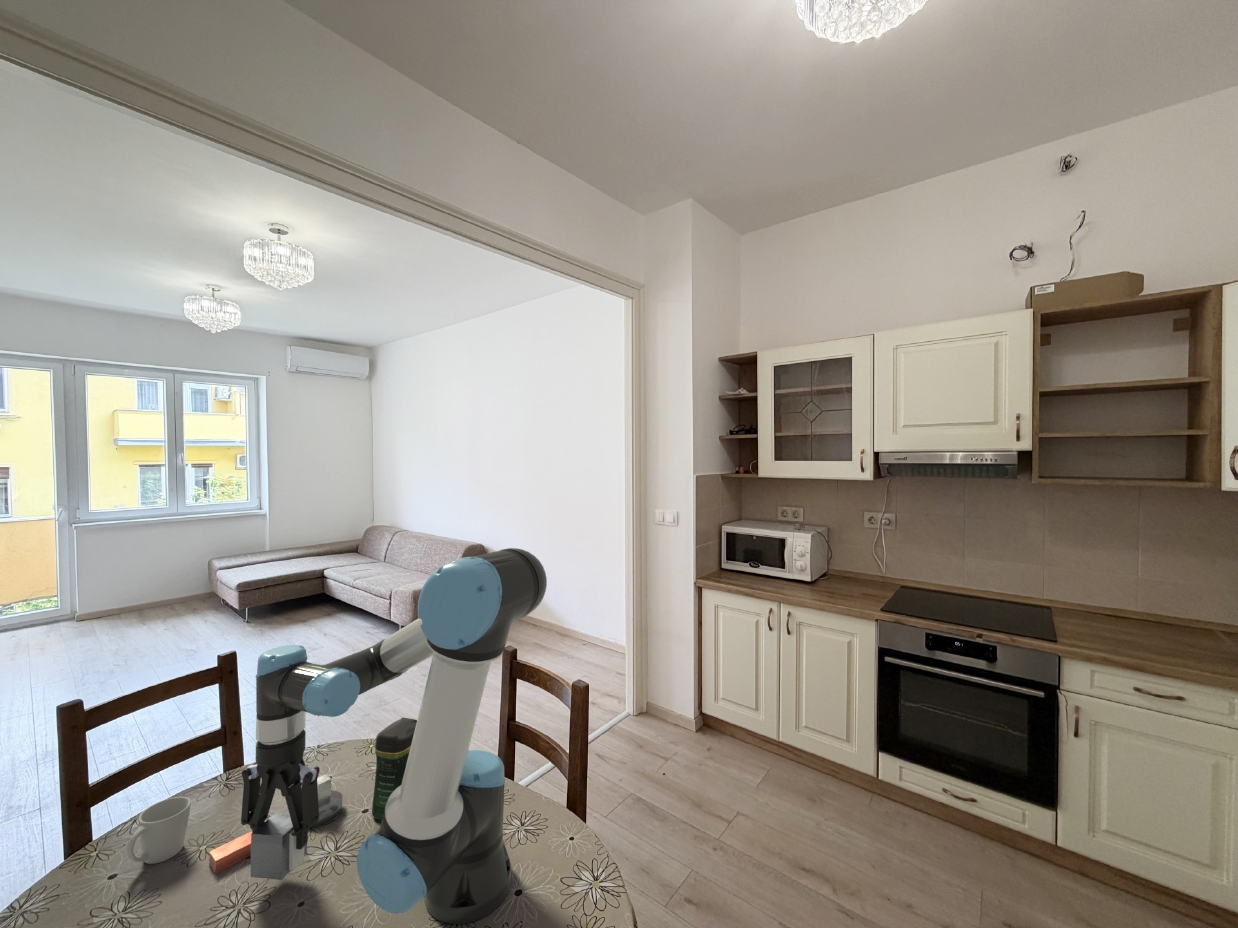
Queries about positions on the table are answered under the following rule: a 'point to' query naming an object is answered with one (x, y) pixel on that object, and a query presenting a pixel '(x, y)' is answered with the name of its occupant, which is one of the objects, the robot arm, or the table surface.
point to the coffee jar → (391, 761)
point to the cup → (161, 830)
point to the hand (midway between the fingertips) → (279, 863)
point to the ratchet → (242, 846)
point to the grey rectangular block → (272, 847)
